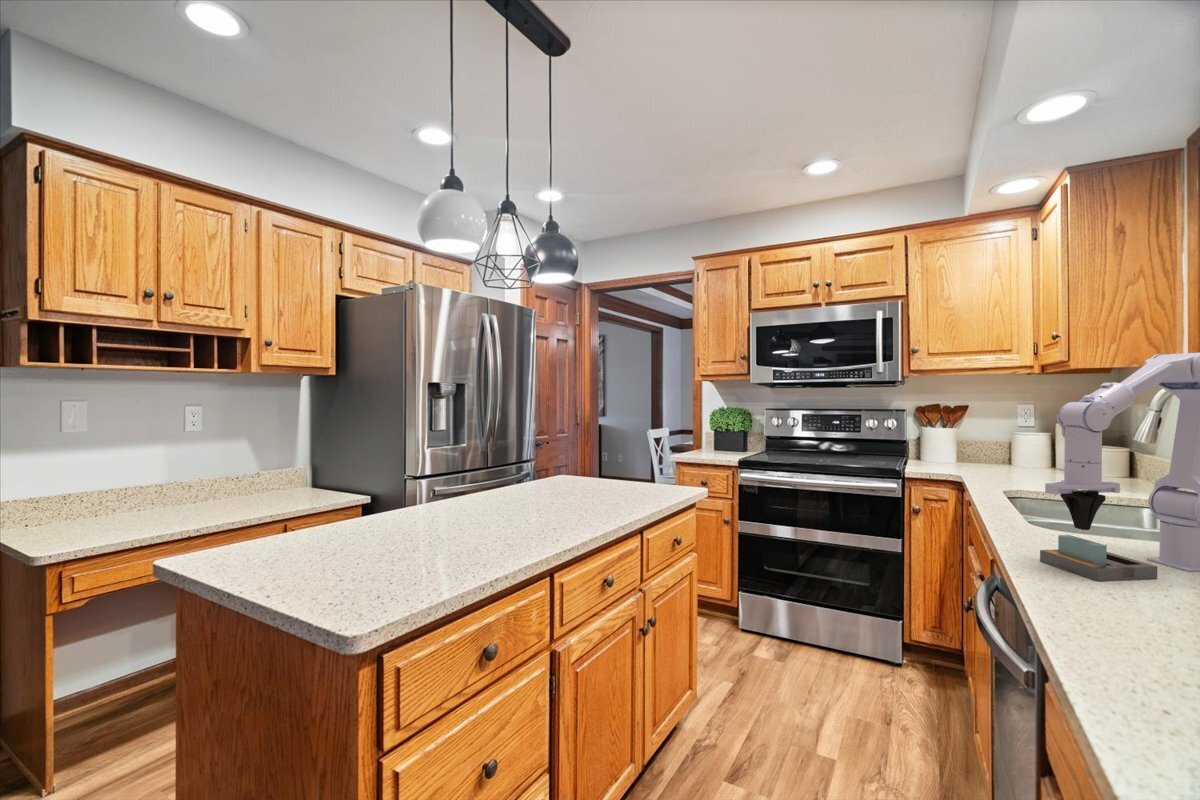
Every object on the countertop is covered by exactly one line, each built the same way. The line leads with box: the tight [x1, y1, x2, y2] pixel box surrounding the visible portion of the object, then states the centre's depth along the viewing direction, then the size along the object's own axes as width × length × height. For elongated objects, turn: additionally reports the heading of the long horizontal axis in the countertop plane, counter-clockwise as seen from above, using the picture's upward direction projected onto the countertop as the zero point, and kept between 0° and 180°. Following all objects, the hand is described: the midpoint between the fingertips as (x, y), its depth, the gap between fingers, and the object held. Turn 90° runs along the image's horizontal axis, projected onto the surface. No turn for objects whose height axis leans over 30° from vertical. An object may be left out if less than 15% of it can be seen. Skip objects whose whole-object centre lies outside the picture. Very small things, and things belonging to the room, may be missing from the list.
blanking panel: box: [1057, 534, 1108, 566], centre depth 114 cm, size 2×8×6 cm, turn 5°
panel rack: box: [1039, 548, 1159, 582], centre depth 114 cm, size 13×13×3 cm
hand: (1082, 528), depth 114 cm, fingers closed
